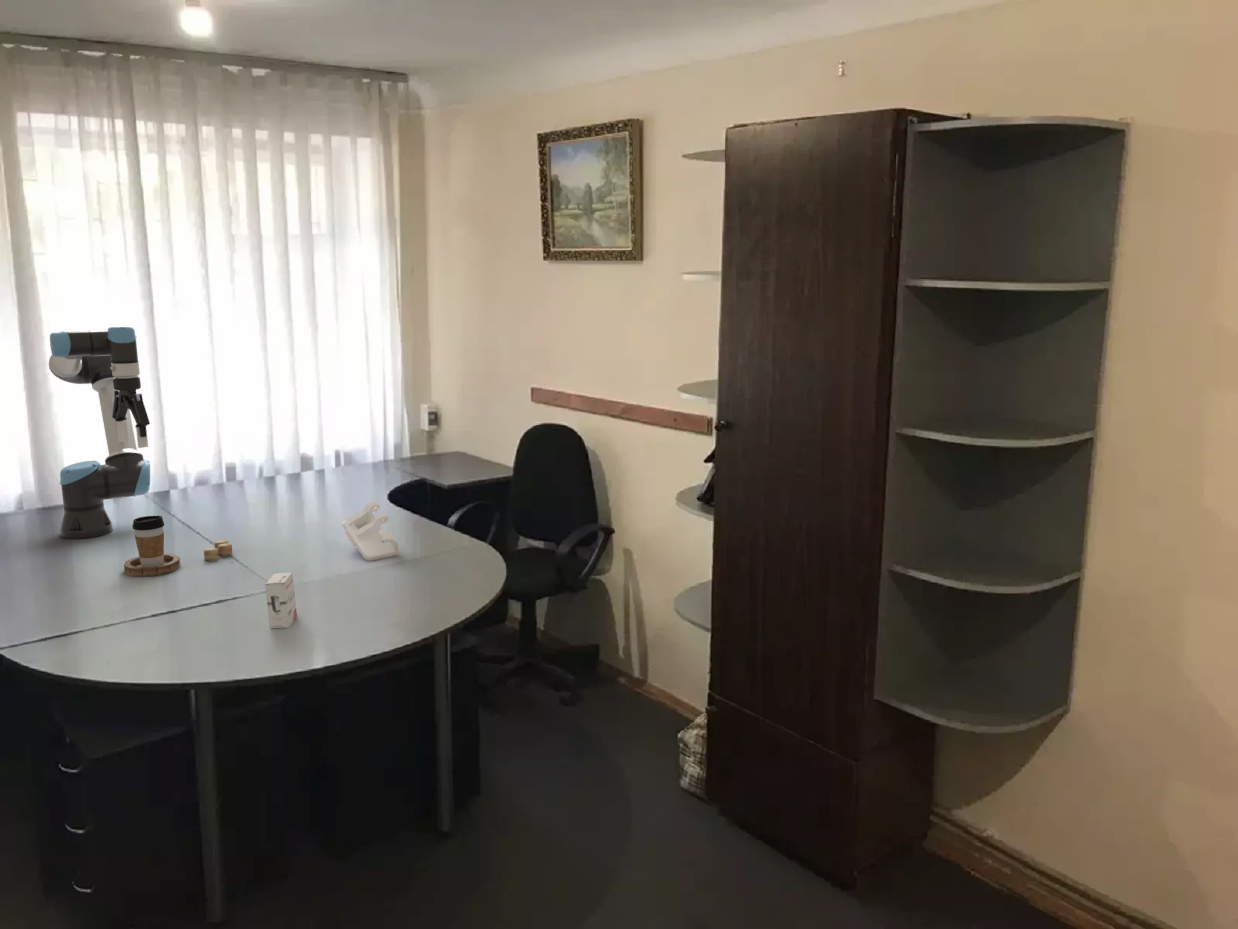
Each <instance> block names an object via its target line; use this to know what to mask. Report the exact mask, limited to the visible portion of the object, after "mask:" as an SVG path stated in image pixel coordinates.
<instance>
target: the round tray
mask: <svg viewBox="0 0 1238 929" xmlns="http://www.w3.org/2000/svg"><path fill="white" fill-rule="evenodd" d="M180 558H181V557H180V556H179V555H177V554H174V553H165V552H164V564H163V565H159V566H152V567H141V562H140V557H139V555H138V556H135V557H132V558H130V559H127V560H125V562H124V564H123V571H124V574H125V575H126V576H128V577H134V578H148V577H156V576H162V575H166V574H171V573H173V572H175V571H177V570H179V569H180V568H181V565H182V564H181V561H180V560H181V559H180Z"/></svg>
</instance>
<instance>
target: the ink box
mask: <svg viewBox="0 0 1238 929" xmlns="http://www.w3.org/2000/svg"><path fill="white" fill-rule="evenodd" d="M294 583H295V582H294V576H293V572H279V573H278V572H277V573H273V575H271V577H270V578H269V579H268V580H267V582H266V583H265V584H264V587H265V595H266V604H267V605H266V606H267V613H268V614H267V615H268V622H269V628H270V629H289V628H290V627H291V626H292V624H293V622H294V621H295V619H296V617H297V616H298V615H297V614H298V613H297V612H298V611H297V605H296V594H295V585H294Z"/></svg>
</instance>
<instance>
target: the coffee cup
mask: <svg viewBox="0 0 1238 929" xmlns="http://www.w3.org/2000/svg"><path fill="white" fill-rule="evenodd" d="M163 519H164V518H163V516H162V515H146V516H139V517H137V518H134V519H133V522H132V529H133V530H134V538H135V539H134V540H135V543H136V547H137V552H138V556H139V557H140V562H141V567H152V566H159V565H163V564H164V553H165V552H164V550H165V542H164V541H165V532H164V526H165V522H164V520H163Z"/></svg>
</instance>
